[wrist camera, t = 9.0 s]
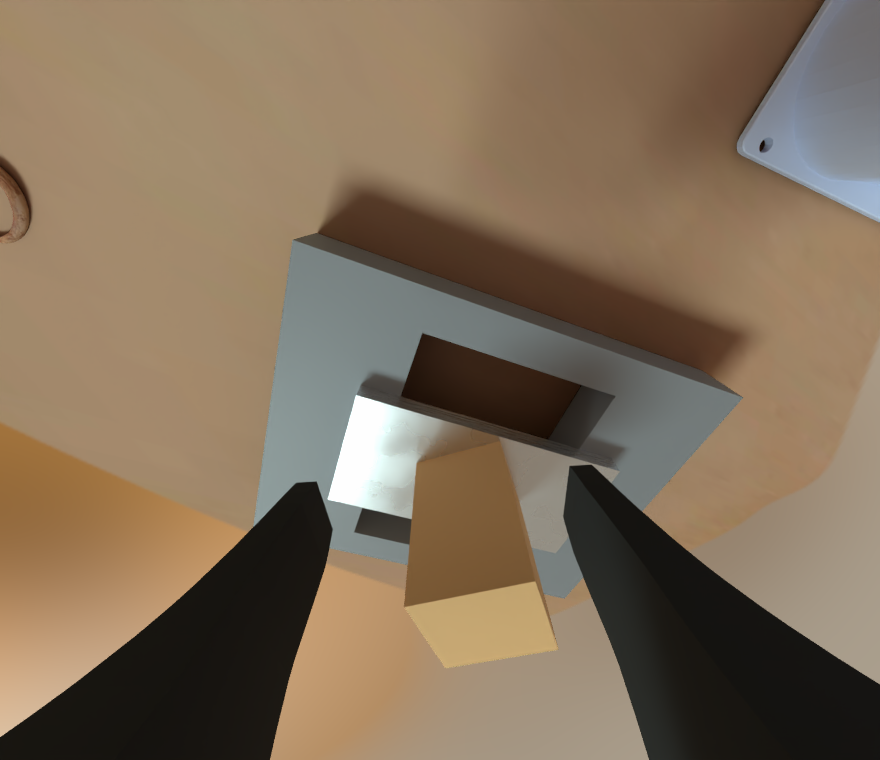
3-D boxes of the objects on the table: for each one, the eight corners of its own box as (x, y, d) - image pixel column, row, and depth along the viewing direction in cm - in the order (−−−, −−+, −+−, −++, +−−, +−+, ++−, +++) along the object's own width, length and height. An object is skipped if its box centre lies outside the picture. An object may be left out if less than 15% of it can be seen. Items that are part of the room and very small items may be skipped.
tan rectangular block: (500, 440, 17) (535, 581, 11) (519, 501, 19) (558, 649, 13) (416, 462, 18) (404, 607, 11) (443, 519, 19) (445, 668, 13)
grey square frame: (701, 370, 20) (743, 397, 17) (552, 559, 28) (564, 598, 25) (316, 233, 16) (292, 239, 13) (273, 494, 24) (252, 531, 21)
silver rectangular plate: (611, 458, 19) (620, 471, 18) (551, 538, 22) (555, 553, 21) (360, 384, 17) (356, 395, 16) (332, 485, 20) (328, 499, 19)
